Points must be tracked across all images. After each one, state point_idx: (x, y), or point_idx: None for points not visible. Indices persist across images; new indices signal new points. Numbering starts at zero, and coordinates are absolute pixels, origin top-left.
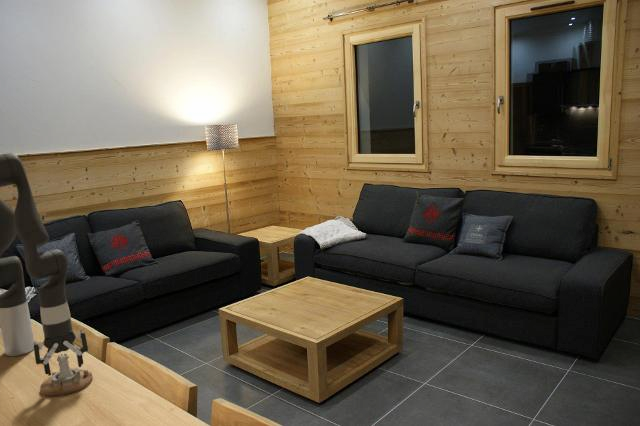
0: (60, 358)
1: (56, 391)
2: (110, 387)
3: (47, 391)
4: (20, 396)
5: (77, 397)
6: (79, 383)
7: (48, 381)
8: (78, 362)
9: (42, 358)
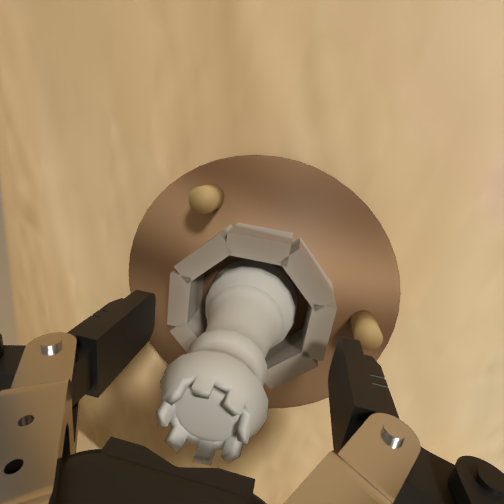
0: (180, 439)
1: None
2: None
3: (153, 334)
4: (59, 232)
5: (257, 435)
6: (295, 380)
7: (172, 226)
8: (331, 411)
9: (8, 386)
